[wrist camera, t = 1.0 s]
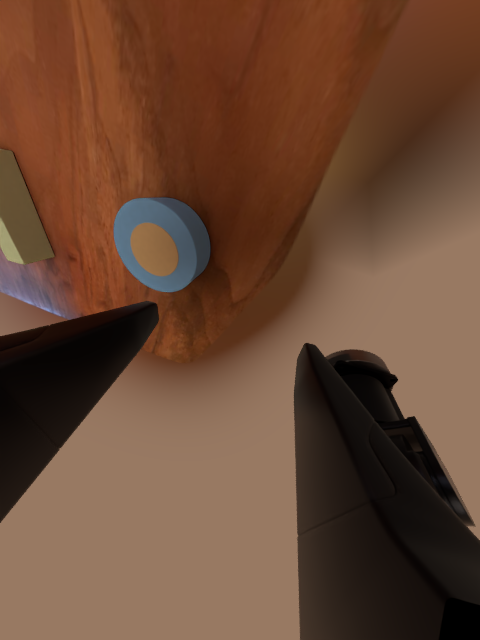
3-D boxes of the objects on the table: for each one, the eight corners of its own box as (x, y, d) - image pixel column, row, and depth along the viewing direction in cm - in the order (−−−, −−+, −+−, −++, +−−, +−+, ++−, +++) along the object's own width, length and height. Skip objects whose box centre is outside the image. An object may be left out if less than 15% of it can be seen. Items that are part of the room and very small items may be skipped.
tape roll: (213, 206, 15) (197, 209, 12) (208, 287, 19) (195, 301, 16) (132, 189, 16) (102, 188, 13) (144, 271, 20) (122, 282, 17)
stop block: (12, 151, 16) (-38, 143, 14) (55, 256, 21) (24, 265, 19) (-8, 147, 16) (-60, 139, 14) (39, 253, 21) (7, 260, 19)
